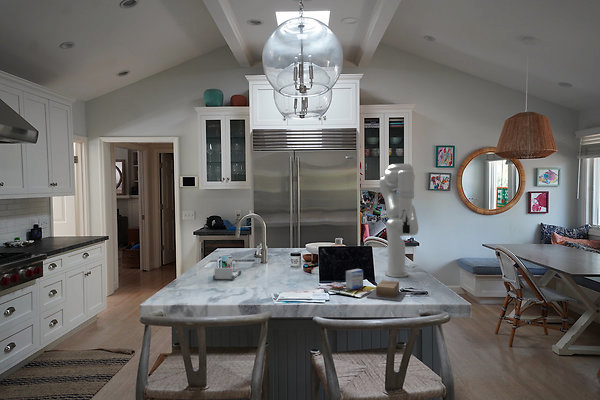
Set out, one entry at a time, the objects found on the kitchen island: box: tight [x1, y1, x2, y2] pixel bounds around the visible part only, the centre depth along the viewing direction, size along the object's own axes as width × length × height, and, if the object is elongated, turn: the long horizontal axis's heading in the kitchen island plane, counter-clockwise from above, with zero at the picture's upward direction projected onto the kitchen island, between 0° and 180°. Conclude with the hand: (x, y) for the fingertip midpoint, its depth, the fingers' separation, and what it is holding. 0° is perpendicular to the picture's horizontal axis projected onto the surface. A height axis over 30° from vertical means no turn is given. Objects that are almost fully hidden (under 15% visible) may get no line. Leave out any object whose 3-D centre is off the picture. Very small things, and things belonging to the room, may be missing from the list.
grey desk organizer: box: [212, 257, 242, 282], centre depth 225 cm, size 18×10×12 cm
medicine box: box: [345, 268, 364, 290], centre depth 198 cm, size 8×4×9 cm, turn 126°
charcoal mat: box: [366, 288, 407, 303], centre depth 183 cm, size 14×15×1 cm
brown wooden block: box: [375, 280, 400, 297], centre depth 185 cm, size 4×8×12 cm
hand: (406, 233), depth 194 cm, fingers closed
